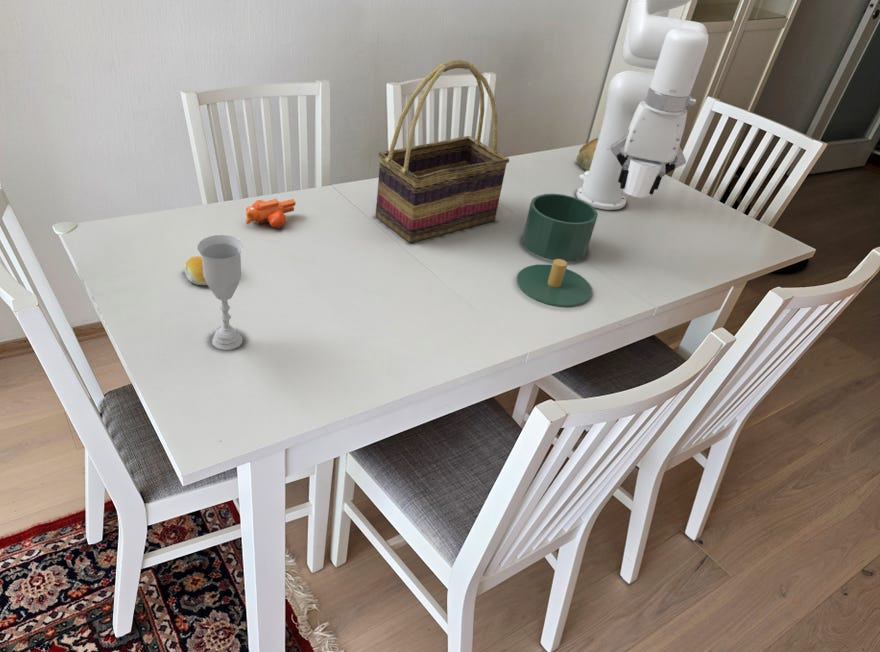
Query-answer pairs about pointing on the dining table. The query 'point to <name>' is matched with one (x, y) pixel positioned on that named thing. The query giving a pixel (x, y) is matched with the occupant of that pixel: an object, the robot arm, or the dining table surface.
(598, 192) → the robot arm
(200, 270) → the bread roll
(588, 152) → the pastry
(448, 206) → the basket
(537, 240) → the tin
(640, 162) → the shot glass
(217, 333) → the chalice
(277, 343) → the dining table surface
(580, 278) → the lid
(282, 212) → the orange plastic lumpy piece
